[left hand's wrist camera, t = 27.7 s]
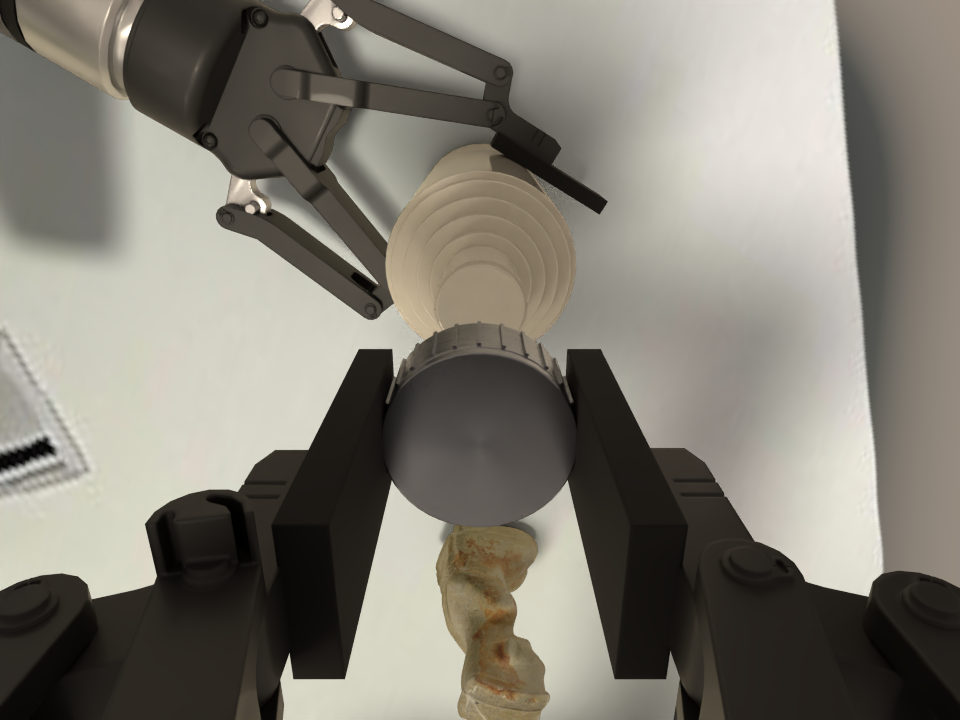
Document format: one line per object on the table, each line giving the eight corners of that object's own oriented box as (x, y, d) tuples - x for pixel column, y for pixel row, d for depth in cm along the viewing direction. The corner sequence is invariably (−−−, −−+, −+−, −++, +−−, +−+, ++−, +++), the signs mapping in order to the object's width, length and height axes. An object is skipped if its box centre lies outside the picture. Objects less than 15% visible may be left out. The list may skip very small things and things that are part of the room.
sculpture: (514, 580, 51) (527, 760, 37) (430, 553, 50) (411, 727, 36) (544, 525, 49) (570, 693, 35) (457, 495, 48) (448, 656, 34)
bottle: (419, 261, 41) (363, 407, 22) (422, 139, 39) (362, 180, 19) (534, 268, 42) (583, 419, 22) (546, 147, 39) (614, 196, 19)
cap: (602, 424, 15) (619, 466, 13) (458, 509, 16) (456, 560, 14) (504, 283, 14) (507, 309, 12) (353, 384, 15) (335, 423, 13)
